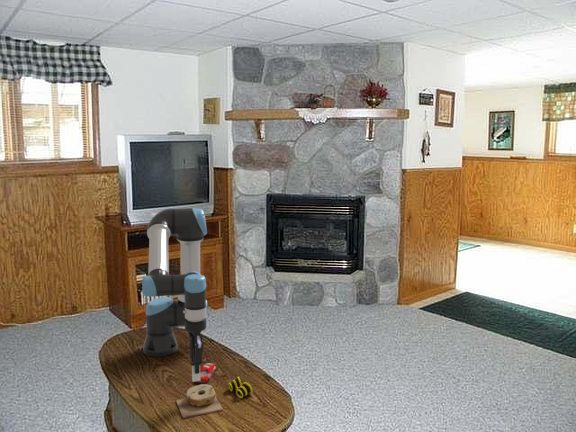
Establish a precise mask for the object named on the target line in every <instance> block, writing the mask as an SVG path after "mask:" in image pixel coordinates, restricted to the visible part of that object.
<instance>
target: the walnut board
mask: <svg viewBox="0 0 576 432" xmlns="http://www.w3.org/2000/svg"><path fill="white" fill-rule="evenodd" d="M175 402H176V405H177V407H178V409H179V412H180V416H181V417H182V419H189V418H193V417H199V416H203V415H207V414H212V413H217V412H221V411H223V410H224V409H223V407H222V405H221V403H220V401H219V399H218V398H217V396H216V395H215V400H214V401H213V402H212V403H211V404H208V405H204V406H199V407H198V406H194V405H191V404H190V403H189V402H188V401H187V398H186V397H185V398H180V399H176V400H175Z"/></svg>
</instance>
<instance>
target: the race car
mask: <svg viewBox="0 0 576 432" xmlns="http://www.w3.org/2000/svg"><path fill="white" fill-rule="evenodd" d="M216 369H217V367H216V364H215V363H209V362H208V363H205V364H204V365H203V366H202V367H200V381H195V382H196V383H199V384H208V383H209V381H210V380H211V379H212V377H213V376H214V375H215V373H216V371H217V370H216Z"/></svg>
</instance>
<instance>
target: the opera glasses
mask: <svg viewBox="0 0 576 432" xmlns="http://www.w3.org/2000/svg"><path fill="white" fill-rule="evenodd" d="M241 381H242V380H241V379H240V376H237V377H236V378H235V379H233V380H232V381H230V382H228V383H227V384H228V389H229V391H230V392H232V393H233V392H235V393H236V396H237V397H238V398H239V399H243V397H246V396H247V395H251V394H253V388H252V385H251V384H249V382H241Z"/></svg>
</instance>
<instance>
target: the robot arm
mask: <svg viewBox="0 0 576 432" xmlns="http://www.w3.org/2000/svg"><path fill="white" fill-rule="evenodd" d="M207 230H208V229H207V223H206V216H205V212H204V210H203V209H202V208H196V207H195V208H193V207H189V208H188V207H187V208H185V207H184V208H166V209H163V210H161V211H159V212H158V213H156V214H155V215H154V216H153V217H152V218H151V220H150V221H149V223H148V225H147V229H146V235H147V237H148V239H149V240H148V241H149V245H148V246H149V247H148V270H147V271H148V272H147V273H148V274H147V275H144V276H143V277H142V278H141V279H142V281H141V283H142V284H141V285H142V287H141V289H142V295H143V296H144V297H154V299H152V300H150V301H149V302H148V303H147V304H146V306H145V308H146V310H145V316H146V317H145V319H146V336H145V339H144V342H143V344H142V345H143V346H142V351H143V354H144V355H146V356H148V357H155V358H156V357H159V358H161V357H166V356H170V355H172V354H174V353H175V352H177V351H178V341H177V339H176V336H175V333H174V328H184V329H185V331H187V332H188V339H189V340H188V341H189V353H190V354H189V355H190V357H189V358H190V359H191V363H190V366H191V381H192V383H195V382H196V381H200V370H201V366H202V364H203V350H204V349H203V348H204V345H205V344H204V342H203V341H202V340H203V334H202V333H201V332H203V331H205V330H206V329H207V315H208V314H207V313H208V300H207V281H206V279H207V278H206V277H205V275H203V274H201V242H202V241H203V240H204V239H205V238H204V236H206V235H207V234H208V231H207ZM171 236H175V237H176V240H177V242H179V243H180V247H179V248H180V273H179V274H170V267H169V266H170V265H169V264H170V261H169V260H170V259H169V251H170V250H169V238H170V237H171ZM167 296H177V300H174V299H173V298H172V297H167ZM155 297H158V298H155Z"/></svg>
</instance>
